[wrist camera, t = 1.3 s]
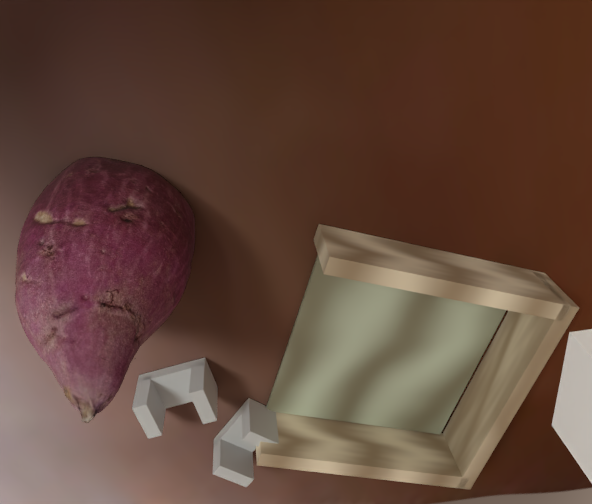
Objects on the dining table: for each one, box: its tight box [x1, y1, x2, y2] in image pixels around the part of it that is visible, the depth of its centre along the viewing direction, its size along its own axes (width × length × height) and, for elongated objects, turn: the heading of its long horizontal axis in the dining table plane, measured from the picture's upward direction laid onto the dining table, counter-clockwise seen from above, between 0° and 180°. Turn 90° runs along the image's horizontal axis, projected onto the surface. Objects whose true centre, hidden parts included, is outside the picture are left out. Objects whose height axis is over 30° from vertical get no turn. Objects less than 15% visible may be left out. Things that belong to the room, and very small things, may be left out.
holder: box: [256, 224, 579, 490], centre depth 40 cm, size 17×17×4 cm
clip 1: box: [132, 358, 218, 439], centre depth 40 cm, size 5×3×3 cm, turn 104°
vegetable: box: [15, 157, 195, 423], centre depth 30 cm, size 10×10×15 cm
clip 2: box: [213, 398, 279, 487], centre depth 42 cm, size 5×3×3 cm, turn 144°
